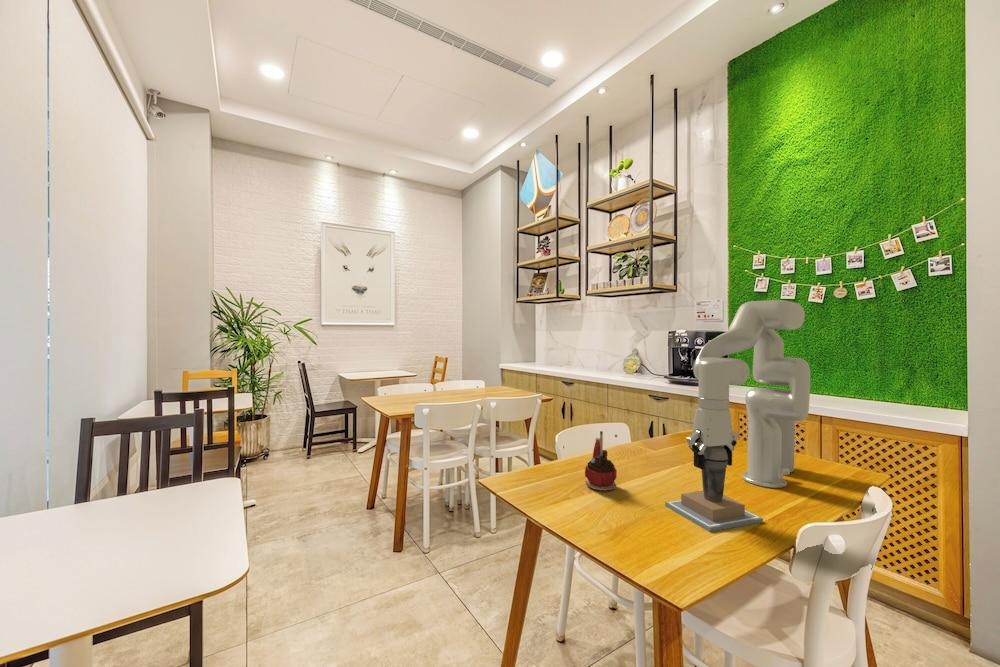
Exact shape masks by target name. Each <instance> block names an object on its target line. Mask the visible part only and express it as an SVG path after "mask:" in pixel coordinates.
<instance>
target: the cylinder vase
mask: <svg viewBox="0 0 1000 667" xmlns="http://www.w3.org/2000/svg"><path fill="white" fill-rule="evenodd" d="M774 420H775V421H776V422H777V424H778V425H779V427H780V429H781V432H782V451H781V469H789V470H790V472H791V473H793V472H794V471H795V442H796V441H795V435H796V434H795V431H796V430H795V426H796V425H795V424H796V421H792V420H786V419H779V418H774Z"/></svg>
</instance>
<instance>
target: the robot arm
mask: <svg viewBox="0 0 1000 667" xmlns="http://www.w3.org/2000/svg"><path fill="white" fill-rule="evenodd" d="M805 314H806V313H805V309H804V307H803V306H802V305H801V304H800V303H797V302H794V301H790V300H789V301H788V300H786V299H785V300H784V299H771V300H770V299H769V300H766V299H765V300H751V301H746V302H743V303H742V304H741V305H740V306H739V307H738V309H737V311H736V313H735V315H734V317H733V318H732V321H731V323H730V325H729V326H728V329H727V331H725V332H722V333H721V334H720V335H717V336H716V337H714V338H713V339H711V340H709V341H708V342H707V343H705V344H704V345H703V346H702V348H701V349H700V350H699V352H698V355H697V357H696V359H695V361H694V364H693V370H692V371H693V375H694V377H695V379H697V380H698V397H697V398H698V399H697V400H698V402H697V403H698V405H697V407H698V408H696V409H695V413H694V417H693V422H692V433H691V434H690V435H688V436H687V437H686V442H687V445H688V448H690V450H691V452H692V453H693V466H694V467H695V468H698V469H700V470H702V469H704V462H705V456H704V455H703V452H704V451H705V449H706V447H716V446H722V447H723V448H724V449H725V450H726V452H727V455H728V464H727V466H733V452H734V451H735V447H736V445H737V441H738V438H739V433H738V432H736V431H734V430H733V422H732V414H731V410H730V403H731V401H730V386H732V385H733V386H741V385H743V384H745V383H746V382H747V381H748V380H749V377H750V374H751V370H750V367H749V365H748V364H747V362H746V361H744V360H742V359H739V358H729V357H725V356H728V355H732V354H736V353H740V352H743V351H747V350H750V349H751V348H753V358H752V360H753V361H752V378H753V379H754V381H755V382H757V383H760V384H764V385H771V386H772V385H773V386H781V387H782V386H783V387H789V388H790V390H786V389H777V388H768V387H755V388H751V389H749V390H748V391H747V392H746V394H745V398H744V399H745V406H746V412H747V413H746V414H747V428H748V430H747V431H748V433H747V471H745V472H743V473H742V479H743V480H744V481H746V482H747V483H750V484H753V485H756V486H760V487H765V488H771V489H772V488H773V489H780V488H786V487H787V485H788V484H787V483H788V482H787V480H786V479H785V478H783V476H787V475H790V474H791V473H790V470H789V469H781V451H782V432H781V429H780V427H779V425H778V424H777V422H776V421H775V420H774V418H779V419H786V420H792V421H795V422H801V421H803V422H804V421H805V420H806V419H807V417H808V415H809V411H810V410H809V409H810V393H811V367H810V365H809V363H808V362H807V361H806V360H805V359H804V358H801V357H790V356H789V357H786V356H784V350H785V349H784V348H785V342H784V340H783V338H782V337H781V336H780V334H778V333H777V331H776V330H798V329H800V328H801V327H802V326H803V324H804V322H805V316H806V315H805Z"/></svg>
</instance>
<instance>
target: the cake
mask: <svg viewBox="0 0 1000 667" xmlns="http://www.w3.org/2000/svg"><path fill="white" fill-rule="evenodd" d="M603 433H604V432H603V431H602V430H600V432H599V437H596V438H595V443H594V447H593V452H592V453H593V454H592V457H591V459H590V461H589V462H588V463H587V465H586V466H585V468H584V469H585V470H584V476H585V478H587V479H586V480H585V485H586V486H587V487H588V488H592V489H594V490H596V491H597V490H598V491H610V490H611V491H612V490H615V489H616V487H617V483H616V482H615V480H616V479H617V478H618V477H617V472H618V471H617V469H616V467H615V464H614V463H613V462H612V461H611V459H608V450H605V449H603V444H604V443H603V439H604V438H603V437H604V436H603V435H604V434H603Z"/></svg>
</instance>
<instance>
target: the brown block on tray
mask: <svg viewBox="0 0 1000 667" xmlns="http://www.w3.org/2000/svg"><path fill="white" fill-rule="evenodd" d="M680 495H681V498H680V499H677V500H671V501H665V503H664V506H665V507H666V508H669V509H670V510H672V511H674V512H675V513H677V514H679V515H680V516H682V517H683V516H684V518H686V519H687V520H688V521H690V520H691V523H694V524H696V525H697V526H699V527H700V526H701V528H702V529H704V530H705V531H707V532H709V533H711V531H712V532H717V530H718V531H721V530H722V529H723V530H726V529H727V528H728V529H732V528H733V527H734V528H739V527H745V526H749V524H750V525H754V524H753V523H755V524H759V523H758V522H761V523H763V522H764V517H761V516H760V515H757V514H755V513H753V512H751V511H748V510H747V509H746V507H745V506H746V505H745V504H744V503H742V502H740V501H737V500H735V499H734V498H730V497H729V496H727V495H724V494H723V498H722V502H711V501H708V500H706V499H705V498H704V492H703V490H700V491H692V492H685V493H681V494H680ZM728 529H727V530H728ZM723 530H722V531H723Z"/></svg>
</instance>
